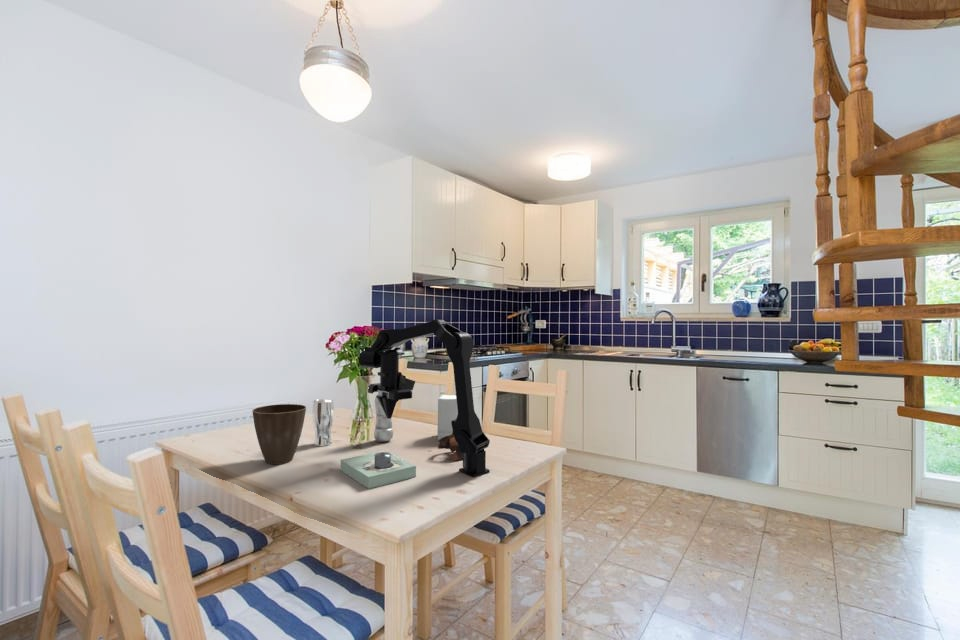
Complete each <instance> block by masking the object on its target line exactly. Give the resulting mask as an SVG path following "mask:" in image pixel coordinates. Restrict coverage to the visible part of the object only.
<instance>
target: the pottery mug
mask: <svg viewBox="0 0 960 640" xmlns="http://www.w3.org/2000/svg"><path fill="white" fill-rule="evenodd" d="M438 443H439V444H438V446H437V449H438V450H442V449H443V450H444V449H445V450H449V451H450V452H451V453H450V459H451V461H452V462H455V461H457V460H463V453H461V452H460V450H459V446H458V443H457V442H456V441H455V438H454V435H453V436H452V435H449V436H445V437H443V438H441V439H440V440H438Z"/></svg>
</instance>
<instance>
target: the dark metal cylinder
mask: <svg viewBox="0 0 960 640" xmlns="http://www.w3.org/2000/svg"><path fill="white" fill-rule="evenodd" d="M380 452H381V451H380ZM387 452H388V451H386V452H381V453H377V454H375V467H374V469H387V468H391V454H392V453H391V454H390V452H388V453H387Z"/></svg>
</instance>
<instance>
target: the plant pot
mask: <svg viewBox="0 0 960 640" xmlns="http://www.w3.org/2000/svg"><path fill="white" fill-rule="evenodd" d="M306 411H307V406H305V405H303V404H298V403H297V404H294V403H292V404H291V403H283V404H282V403H280V404H269V405H264V406H259V407H255V408H254V409H253V408H252V412H251V413H252V419H253V423H254V424H253V425H254V430H255V433H256V439H257V443H258V444H259V448H260V452H261V453H262V456H263V460H264V461H265V464H268V465H282V464H287V463H289V462H291V461H292V460H293V459H294V458H295V457H294V456H295V455H296V454H295V453H296V451H297V448H298V445H299V442H300V439H301V436H302V431H303V427H304V423H305V417H306Z"/></svg>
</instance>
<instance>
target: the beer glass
mask: <svg viewBox="0 0 960 640" xmlns="http://www.w3.org/2000/svg"><path fill="white" fill-rule="evenodd" d="M334 409H335V408H334V400H333V399H330V398H323V399H315V400H313V402H312V413H311V414H312V423H313V429H314V439H313V446H315V447H326V446H325V445H327V446H330V445H329V444H331V445H332V444H333V439H332V429H333V428H332V427H333V421H334V416H335V415H334V414H335V410H334Z"/></svg>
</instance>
